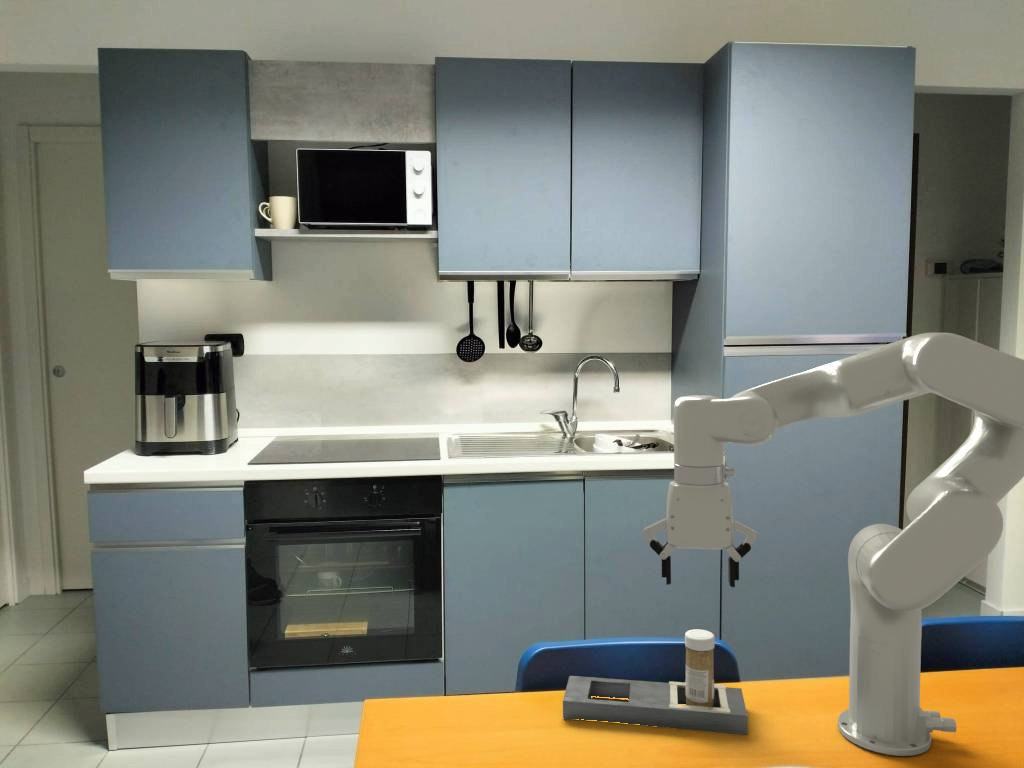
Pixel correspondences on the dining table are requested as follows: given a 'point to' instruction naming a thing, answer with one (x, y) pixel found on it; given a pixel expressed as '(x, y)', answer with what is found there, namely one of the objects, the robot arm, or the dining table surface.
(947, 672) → the dining table surface
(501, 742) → the dining table surface
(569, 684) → the rail
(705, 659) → the sprinkles bottle
